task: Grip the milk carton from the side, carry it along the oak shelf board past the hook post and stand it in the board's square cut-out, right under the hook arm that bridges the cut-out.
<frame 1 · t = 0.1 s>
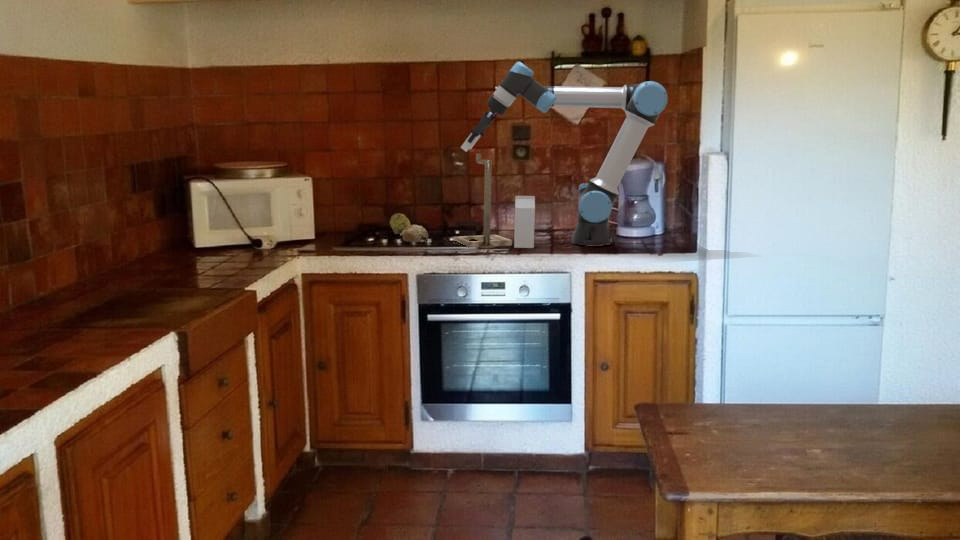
hand: (465, 148, 336), 36 cm above the kitchen counter, tool tilted 35°, fingers open, 13 cm apart
green oval lump: (400, 234, 367), on the kitchen counter
bread roll: (413, 241, 353), on the kitchen counter
shelf board: (482, 243, 348), on the kitchen counter
hook post: (486, 247, 340), resting in shelf board
milk carton: (523, 247, 343), on the kitchen counter
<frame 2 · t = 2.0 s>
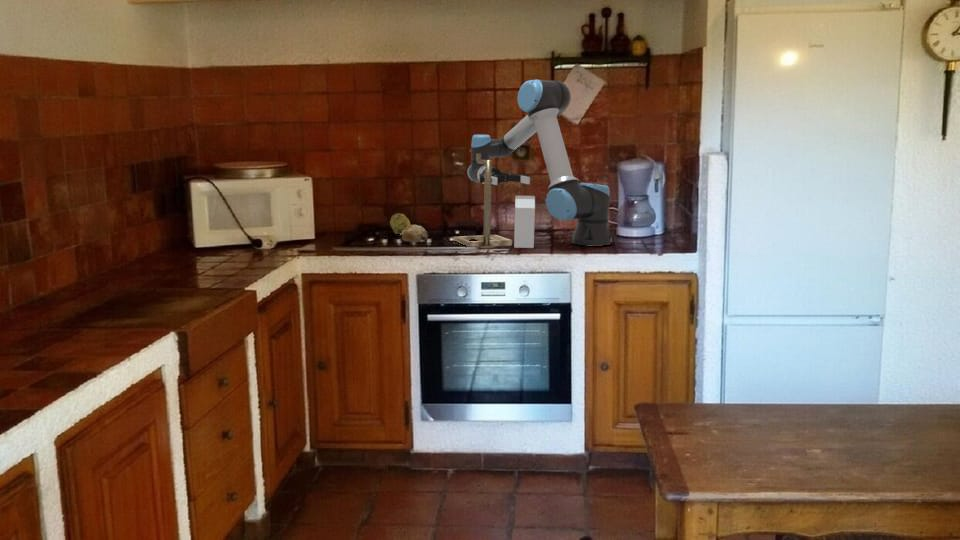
hand: (512, 181, 348), 23 cm above the kitchen counter, tool horizontal, fingers open, 13 cm apart
nothing on the kitchen counter moved.
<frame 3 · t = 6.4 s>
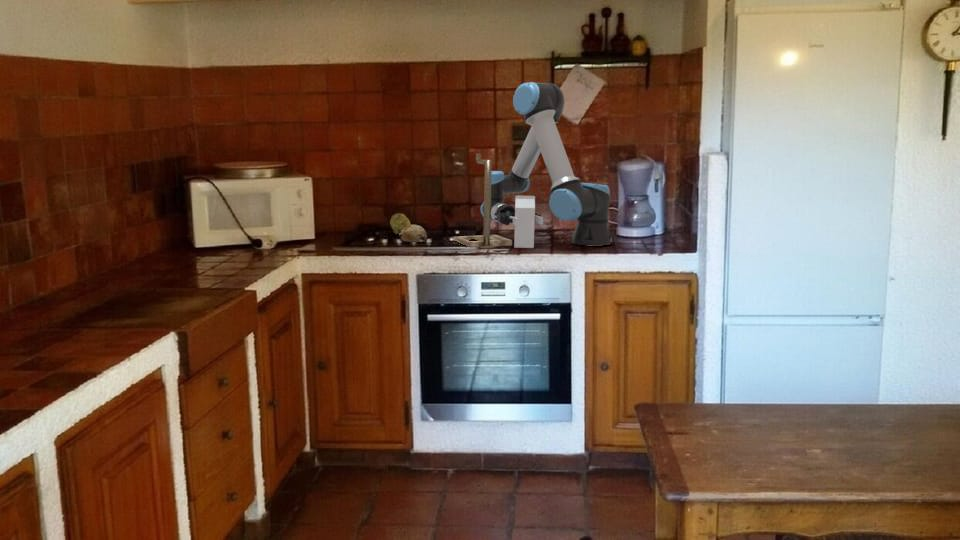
hand: (530, 221, 337), 10 cm above the kitchen counter, tool horizontal, fingers closed on milk carton, 9 cm apart
milk carton: (523, 247, 343), on the kitchen counter, touching gripper
everything else where it was.
when the fingers open (11 cm above the kitchen counter, at t = 11.4 s): milk carton stays where it is, resting in shelf board.
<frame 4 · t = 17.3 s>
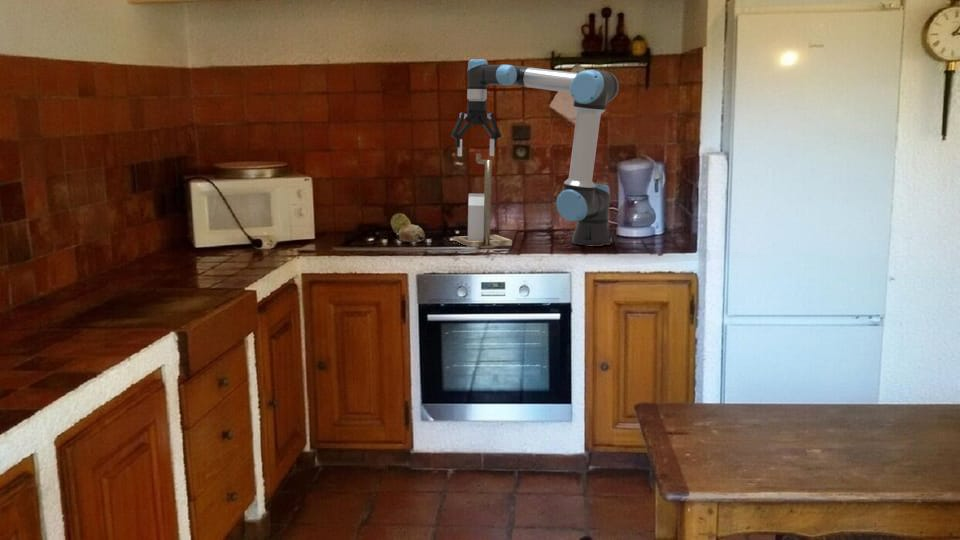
hand: (475, 156, 359), 32 cm above the kitchen counter, tool pointing down, fingers open, 13 cm apart
milk carton: (477, 244, 347), resting in shelf board
at the end: milk carton inside the target area on the shelf board (0.1 cm from its centre), point 0.0 cm above the shelf board's base; milk carton tilted 0°; the gripper is holding nothing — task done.
